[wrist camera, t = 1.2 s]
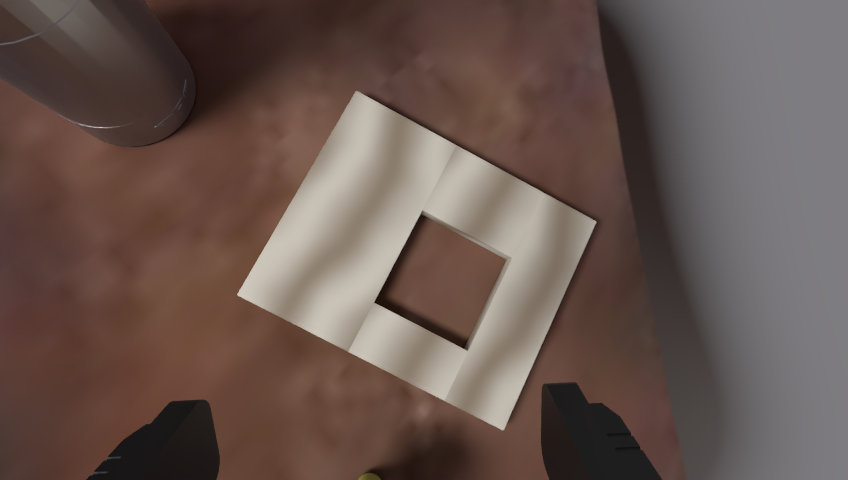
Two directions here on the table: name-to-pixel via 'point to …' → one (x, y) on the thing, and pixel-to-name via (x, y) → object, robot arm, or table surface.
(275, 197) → the table surface
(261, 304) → the cream board with hole
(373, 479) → the light bulb
